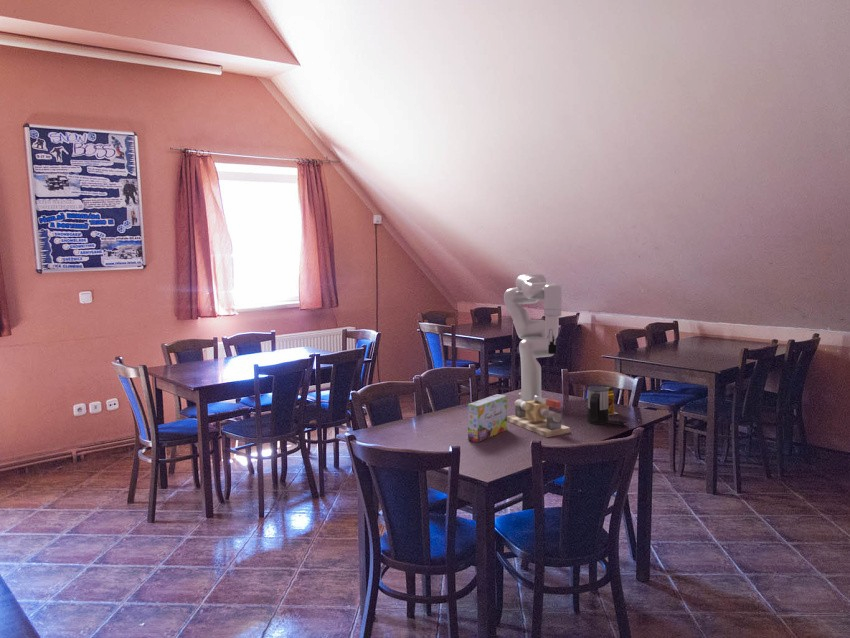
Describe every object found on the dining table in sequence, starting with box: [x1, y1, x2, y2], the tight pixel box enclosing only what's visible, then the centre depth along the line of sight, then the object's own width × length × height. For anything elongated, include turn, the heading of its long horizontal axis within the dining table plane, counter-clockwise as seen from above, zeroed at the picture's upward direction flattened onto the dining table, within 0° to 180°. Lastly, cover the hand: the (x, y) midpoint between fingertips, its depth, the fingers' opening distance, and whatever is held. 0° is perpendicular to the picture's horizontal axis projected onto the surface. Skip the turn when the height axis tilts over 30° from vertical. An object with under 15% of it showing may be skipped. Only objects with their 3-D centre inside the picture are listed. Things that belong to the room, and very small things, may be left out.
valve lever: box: [534, 395, 562, 410], centre depth 264 cm, size 14×3×3 cm, turn 31°
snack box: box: [467, 393, 508, 443], centre depth 260 cm, size 21×6×15 cm, turn 140°
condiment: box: [602, 385, 618, 416], centre depth 288 cm, size 7×8×12 cm
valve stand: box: [507, 398, 571, 438], centre depth 270 cm, size 28×12×10 cm, turn 27°
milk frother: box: [586, 385, 628, 426], centre depth 271 cm, size 14×16×15 cm
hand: (552, 353), depth 282 cm, fingers closed
